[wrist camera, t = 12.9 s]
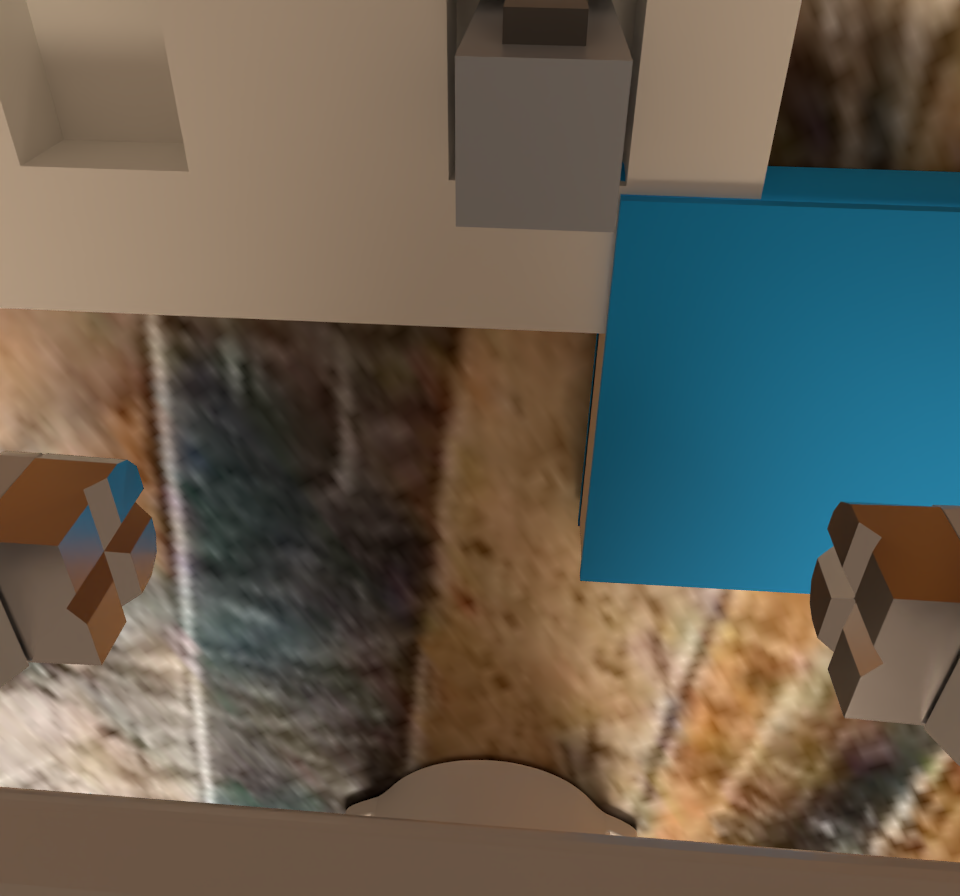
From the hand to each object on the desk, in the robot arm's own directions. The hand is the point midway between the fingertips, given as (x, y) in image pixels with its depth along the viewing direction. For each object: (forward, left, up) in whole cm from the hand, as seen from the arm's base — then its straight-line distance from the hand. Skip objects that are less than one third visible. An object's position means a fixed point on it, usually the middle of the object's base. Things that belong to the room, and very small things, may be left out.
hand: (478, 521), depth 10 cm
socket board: (+1, +7, -23) cm, 24 cm away
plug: (+1, 0, -22) cm, 22 cm away
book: (-10, -15, -23) cm, 29 cm away
